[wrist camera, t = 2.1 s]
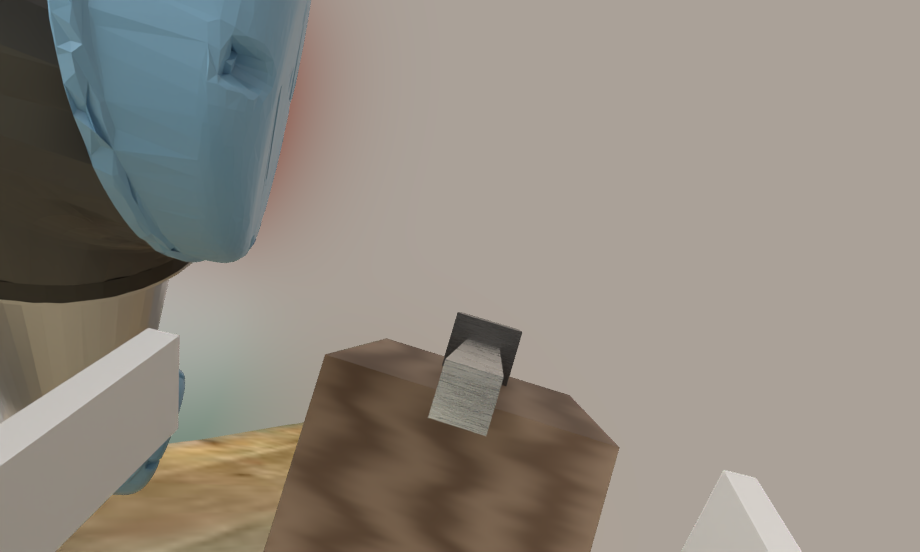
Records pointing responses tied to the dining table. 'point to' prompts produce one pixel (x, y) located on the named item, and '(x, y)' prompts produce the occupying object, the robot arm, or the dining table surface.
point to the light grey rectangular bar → (474, 372)
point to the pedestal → (437, 465)
